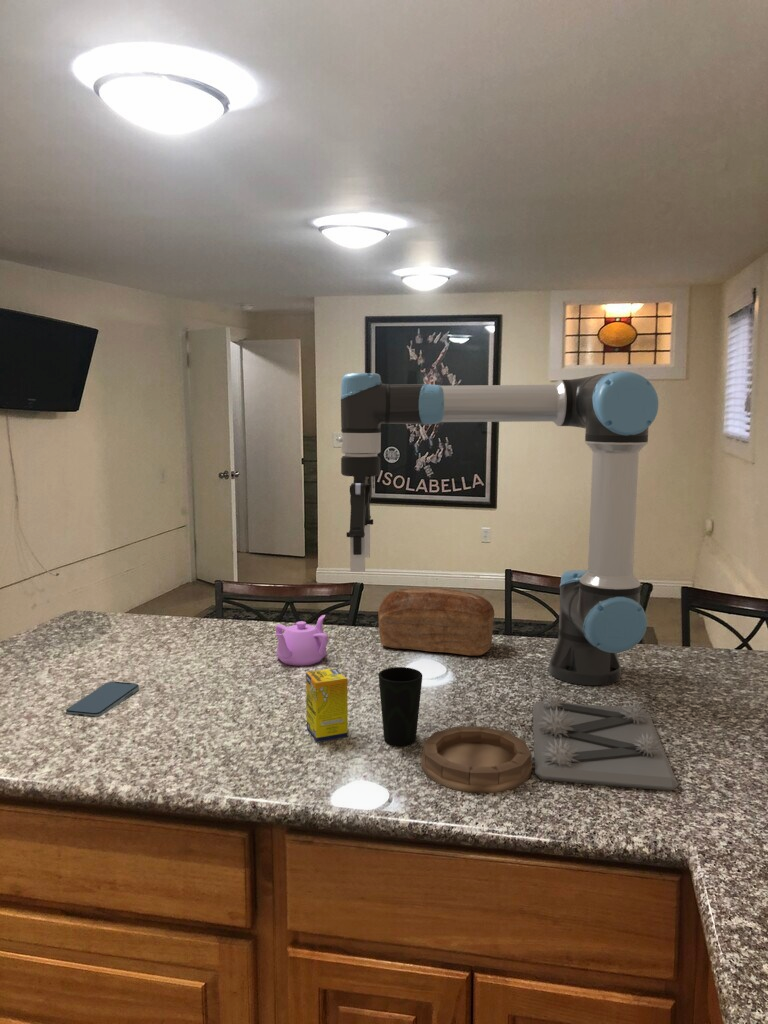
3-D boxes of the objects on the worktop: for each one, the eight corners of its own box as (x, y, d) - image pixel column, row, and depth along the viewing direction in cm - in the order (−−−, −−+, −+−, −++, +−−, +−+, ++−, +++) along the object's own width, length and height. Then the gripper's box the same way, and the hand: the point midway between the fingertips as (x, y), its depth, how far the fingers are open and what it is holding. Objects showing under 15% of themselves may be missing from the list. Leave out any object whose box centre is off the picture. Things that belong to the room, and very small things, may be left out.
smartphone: (63, 710, 147) (108, 680, 161) (63, 718, 147) (108, 687, 162) (98, 713, 145) (140, 683, 160) (99, 722, 146) (141, 690, 160)
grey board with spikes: (678, 797, 118) (681, 752, 117) (534, 784, 121) (536, 741, 120) (647, 719, 147) (649, 683, 146) (532, 710, 151) (533, 675, 150)
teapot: (325, 649, 187) (325, 613, 186) (329, 668, 173) (329, 630, 172) (275, 651, 185) (275, 615, 184) (275, 670, 171) (275, 632, 170)
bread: (489, 661, 178) (490, 600, 176) (373, 650, 186) (373, 592, 184) (497, 646, 190) (498, 588, 188) (387, 636, 198) (387, 581, 196)
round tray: (519, 741, 136) (520, 725, 135) (543, 792, 118) (543, 773, 117) (417, 742, 135) (417, 725, 135) (425, 793, 117) (425, 774, 117)
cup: (418, 751, 132) (418, 683, 130) (374, 747, 133) (374, 680, 132) (424, 732, 139) (425, 668, 137) (383, 729, 141) (383, 665, 139)
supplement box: (305, 729, 140) (305, 671, 139) (336, 724, 143) (336, 667, 141) (316, 742, 135) (315, 682, 133) (348, 737, 137) (348, 677, 136)
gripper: (347, 451, 161) (347, 551, 163) (333, 459, 136) (334, 577, 139) (383, 451, 160) (382, 552, 163) (376, 459, 136) (376, 578, 138)
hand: (360, 564), depth 151 cm, fingers open, 13 cm apart
